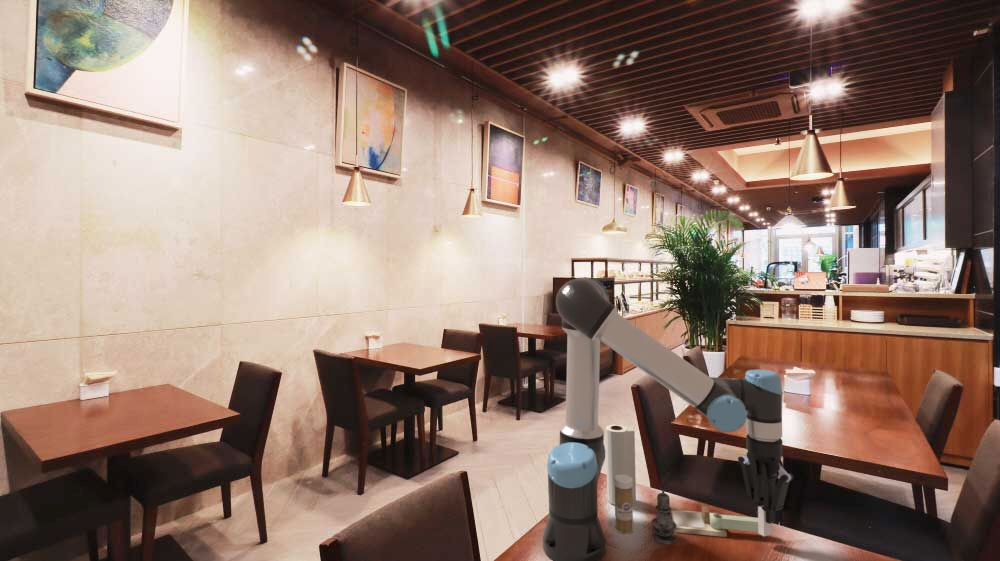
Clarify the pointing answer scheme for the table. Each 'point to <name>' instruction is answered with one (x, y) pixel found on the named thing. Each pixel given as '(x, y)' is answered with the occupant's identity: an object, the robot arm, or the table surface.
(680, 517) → the board
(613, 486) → the paper towel roll
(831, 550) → the table surface
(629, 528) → the sprinkles bottle
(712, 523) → the leg
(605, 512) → the table surface
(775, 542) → the table surface
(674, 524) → the grey stone chess piece
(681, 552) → the table surface
